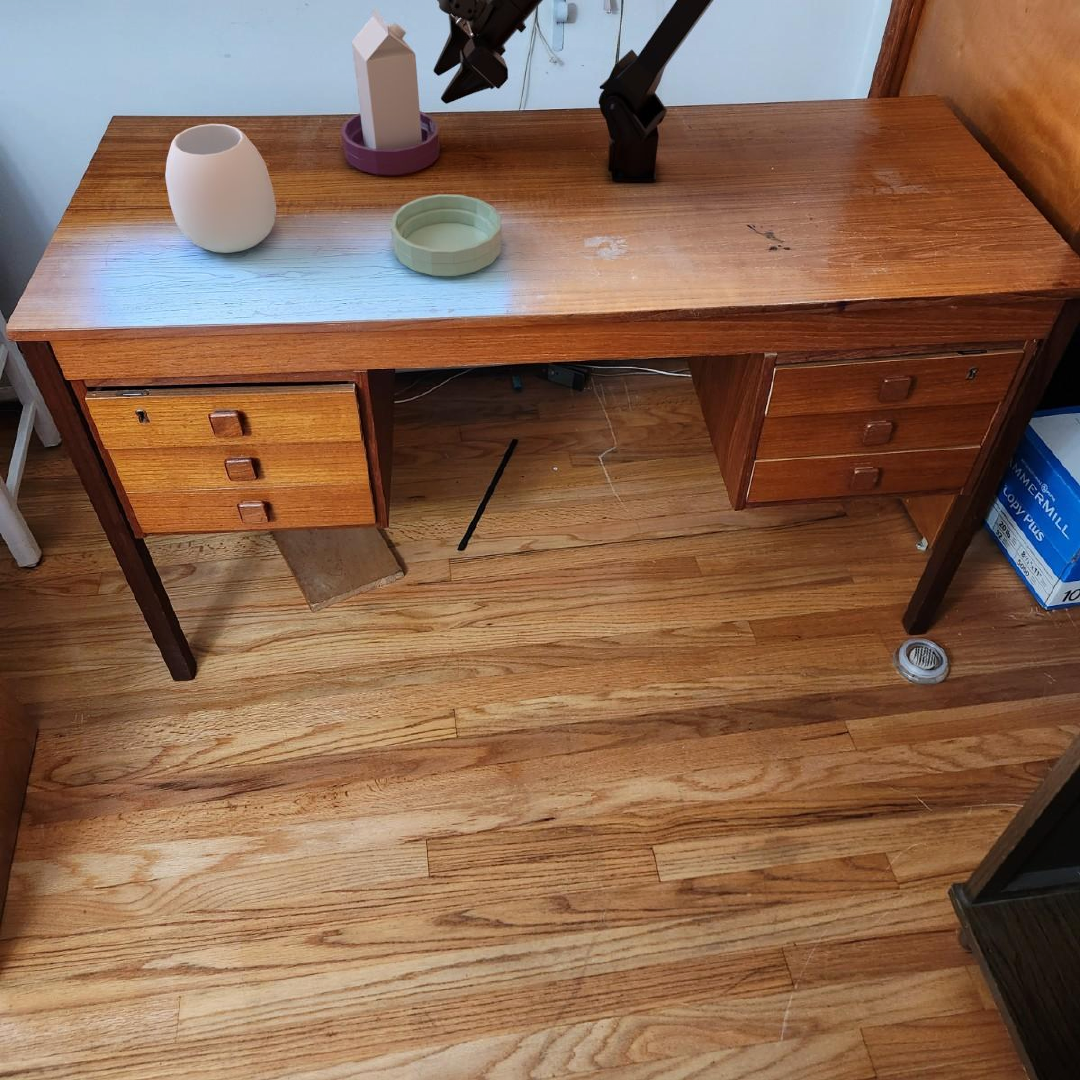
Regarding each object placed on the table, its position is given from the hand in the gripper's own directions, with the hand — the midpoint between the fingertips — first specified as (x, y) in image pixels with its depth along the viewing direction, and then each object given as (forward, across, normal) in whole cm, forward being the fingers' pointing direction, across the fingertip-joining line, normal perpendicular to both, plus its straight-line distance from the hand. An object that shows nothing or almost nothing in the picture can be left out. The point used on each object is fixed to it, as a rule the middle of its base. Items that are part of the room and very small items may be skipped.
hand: (439, 87), depth 139 cm
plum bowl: (+12, 0, +1) cm, 12 cm away
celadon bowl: (+8, +28, +5) cm, 29 cm away
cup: (+28, +20, -15) cm, 38 cm away
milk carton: (+12, 0, +1) cm, 12 cm away
